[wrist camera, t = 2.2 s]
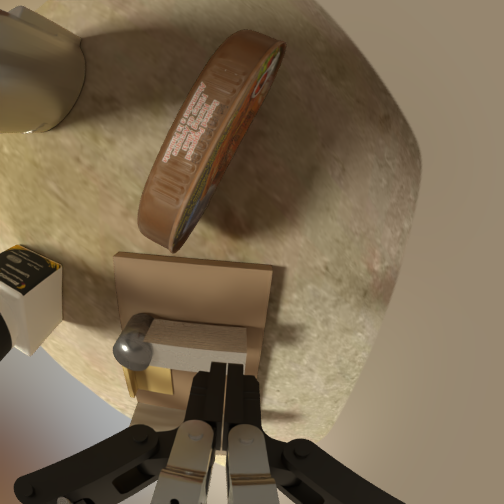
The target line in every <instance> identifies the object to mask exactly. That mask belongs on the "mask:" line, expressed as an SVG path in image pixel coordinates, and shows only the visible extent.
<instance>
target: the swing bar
mask: <svg viewBox="0 0 504 504" xmlns="http://www.w3.org/2000/svg"><path fill="white" fill-rule="evenodd" d="M113 354H114V357H115V358H116V360H117V361H118V362H119V363H120V364H121V365H122V366H124V367H125V368H127V369H130V370H133V371H143V370H145V369H147V368H148V366H155V367H161V368H168V369H175V370H182V371H190V372H199V371H207V372H210V366H211V361H213V362H224V363H227V367H226V375H227V371H228V363H236V364H243V365H244V372H243V375H244V373H245V364H246V356H247V336H246V328H240V327H227V326H215V325H205V324H195V323H186V322H177V321H169V320H161V319H154V318H153V317H151V316H149V315H147V314H135V315H133V316H132V317H131V318H130V320H129V321H128V323H127V324H126V326H125V328H124V329H123V331H122V333H121V334H120V336H119V338H118V339H117V341H116V343H115V344H114V346H113Z"/></svg>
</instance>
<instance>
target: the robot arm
mask: <svg viewBox="0 0 504 504" xmlns="http://www.w3.org/2000/svg"><path fill="white" fill-rule="evenodd" d="M80 41H81V38H80V37H78V36H77V35H75V34H73V33H72V32H70V31H68V30H67V29H65V28H63V27H61V26H60V25H58V24H56V23H54V22H53V21H51V20H49V19H47V18H45V17H44V16H42V15H40V14H38V13H36V12H34V11H32V10H30V9H28V8H26V7H24V6H18V7H15V8H14V9H12V10H10V11H9V12H6V11H3V10H1V9H0V133H41V132H45V131H48V130H50V129H51V128H53V127H55V126H56V125H57V124H58V123H60V122H61V121H62V120H63V119H64V118H65V116H66V115H67V114H68V113H69V112H70V110H71V109H72V107H73V105H74V104H75V102H76V100H77V98H78V96H79V94H80V92H81V89H82V86H83V83H84V77H85V59H84V55H83V53H82V51H81V50H80ZM226 367H227V363H224V362H213V361H211V366H210V372H207V371H199V372H198V373H197V374H196V375H195V376H194V377H193V381H192V385H191V390H190V395H189V399H188V404H187V409H186V414H185V419H184V421H183V423H182V424H181V425H180V426H179V427H177V428H176V429H173V430H169V431H159V432H156V431H155V430H154V429H153V428H151V427H150V426H147V425H144V424H135V425H132V426H130V427H128V428H126V429H125V430H123V431H121V432H119V433H117V434H115V435H113V436H111V437H109V438H107V439H105V440H103V441H101V442H99V443H97V444H95V445H94V446H91V447H90V448H87V449H85V450H83V451H81V452H79V453H77V454H75V455H73V456H70V457H68V458H66V459H64V460H61V461H59V462H57V463H55V464H52V465H49V466H47V467H45V468H42V469H40V470H37V471H35V472H32V473H30V474H27V475H24V476H22V477H19V478H18V479H17V480H16V482H15V484H14V492H15V495H16V497H17V499H18V500H19V501H20V502H21V503H23V504H117V503H120V502H121V501H123V500H125V499H127V498H128V497H130V496H132V495H134V494H135V493H137V492H139V491H140V490H142V489H143V488H145V487H147V486H148V485H150V484H152V483H153V482H155V481H156V480H158V481H157V484H156V487H155V491H154V494H153V497H152V500H151V503H150V504H207V497H208V491H209V486H210V480H211V474H212V469H213V464H214V462H215V452H216V450H219V451H220V449H221V435H222V422H223V408H224V396H225V381H226ZM243 372H244V365H243V364H236V363H228V371H227V384H226V397H225V411H224V425H223V442H222V451H227V453H226V481H227V498H228V504H279V498H278V493H277V488H278V489H279V490H280V491H281V492H282V493H283V494H284V495H286V496H287V497H288V498H289V499H290V500H292V501H293V502H294V503H295V504H405V503H403V502H402V501H400V500H398V499H397V498H395V497H393V496H391V495H390V494H388V493H386V492H385V491H383V490H381V489H380V488H378V487H376V486H375V485H373V484H372V483H370V482H368V481H367V480H365V479H364V478H362V477H361V476H359V475H358V474H356V473H355V472H353V471H352V470H350V469H349V468H347V467H346V466H344V465H343V464H342V463H340V462H339V461H337V460H336V459H335V458H333V457H332V456H330V455H329V454H328V453H326V452H325V451H324V450H322V449H321V448H320V447H318V446H317V445H316V444H314V443H313V442H311V441H309V440H307V439H294V440H291V441H290V442H288V443H286V442H282V441H278V440H275V439H273V438H271V437H269V436H268V435H266V434H265V432H264V431H263V429H262V426H261V410H260V394H259V382H258V381H257V379H256V378H255V376H254V375H243Z"/></svg>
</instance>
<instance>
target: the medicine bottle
mask: <svg viewBox="0 0 504 504" xmlns="http://www.w3.org/2000/svg"><path fill="white" fill-rule="evenodd" d="M61 322H62V265H61V264H59V263H57V262H54V261H52V260H50V259H48V258H46V257H43V256H41V255H39V254H37V253H35V252H33V251H31V250H29V249H26V248H24V247H22V246H20V245H15V246H13V247H11V248H9V249H8V250H6V251H4V252H2V253H0V361H1V360H2V359H3V358H4V357H5V355H6V354H7V353H8V352H9V351H10V350H11V349H12V348H13V347H15V348H17V349H18V350H20V351H21V352H23V353H25V354H26V355H28V356H31V355H33V353H34V352H35V351H36V350H37V349H38V348H39V346H40V345H41V344H42V343H43V342H44V341H45V339H46V338H47V337H48V336H49V335H50V334H51V333H52V331H53V330H54V329H55V328H56V327H57V326H58V325H59V324H60V323H61Z"/></svg>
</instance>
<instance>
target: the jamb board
mask: <svg viewBox="0 0 504 504" xmlns="http://www.w3.org/2000/svg"><path fill="white" fill-rule="evenodd" d="M113 263H114V274H115V284H116V293H117V301H118V308H119V315H120V321H121V328H122V331H123V329H124V328H125V326H126V324H127V323H128V321H129V320H130V318H131V317H132V316H133V315H135V314H147V315H149V316H151V317H153V318H154V319H161V320H169V321H177V322H186V323H195V324H205V325H215V326H227V327H240V328H246V336H247V356H246V364H245V373H244V375H254V376H255V378H256V379H257V374H258V368H259V361H260V355H261V349H262V342H263V335H264V329H265V322H266V315H267V308H268V301H269V294H270V287H271V280H272V273H273V270H272V266H271V265H263V264H251V263H239V262H227V261H215V260H203V259H192V258H181V257H170V256H159V255H148V254H137V253H127V252H118V253H116V254H115V255H114V256H113ZM122 367H123V371H124V375H125V379H126V383H127V387H128V391H129V394H130V397H133V398H135V395H136V397H137V401H138V403H137V406H136V409H135V412H134V415H133V417H132V420H131V423H130V426H132V425H135V424H144V425H147V426H150V427H151V428H153V429H154V430H155V431H156V432H159V431H169V430H173V429H176V428H177V427H179V426H180V425H181V424H182V423H183V421H184V419H185V414H186V409H187V404H188V399H189V395H190V390H191V385H192V381H193V377H194V376H195V375H196V374H197V373H198V372H190V371H182V370H175V369H168V368H161V367H155V366H148V368H147V369H145V370H143V371H133V370H130V369H127V368H125V367H124V366H122ZM226 384H227V375H226V381H225V396H224V408H223V422H222V435H221V449H220V451H219V450H216V452H215V455H226V453H227V451H222V442H223V425H224V411H225V397H226ZM130 426H129V427H130Z"/></svg>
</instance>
